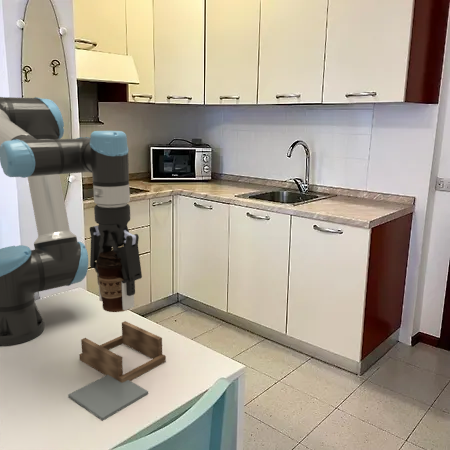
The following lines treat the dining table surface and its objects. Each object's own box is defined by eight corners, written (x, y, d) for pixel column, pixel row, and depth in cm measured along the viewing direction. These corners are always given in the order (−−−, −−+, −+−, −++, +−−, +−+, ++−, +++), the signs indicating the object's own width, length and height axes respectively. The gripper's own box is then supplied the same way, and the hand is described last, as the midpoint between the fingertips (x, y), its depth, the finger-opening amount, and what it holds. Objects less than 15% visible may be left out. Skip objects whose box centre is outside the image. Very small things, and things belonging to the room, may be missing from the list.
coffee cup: (127, 317, 101) (125, 260, 98) (91, 314, 103) (88, 257, 100) (141, 301, 110) (139, 248, 107) (107, 298, 111) (105, 246, 108)
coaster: (68, 396, 101) (68, 394, 100) (113, 373, 110) (113, 371, 109) (102, 420, 93) (102, 417, 93) (148, 393, 102) (148, 391, 102)
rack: (79, 360, 115) (78, 337, 114) (123, 340, 125) (122, 319, 124) (122, 385, 105) (121, 361, 104) (165, 361, 115) (165, 339, 114)
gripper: (68, 200, 104) (75, 297, 109) (130, 213, 92) (134, 321, 97) (96, 196, 109) (101, 288, 115) (157, 207, 97) (160, 309, 103)
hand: (116, 303), depth 106 cm, fingers closed on coffee cup, 7 cm apart
